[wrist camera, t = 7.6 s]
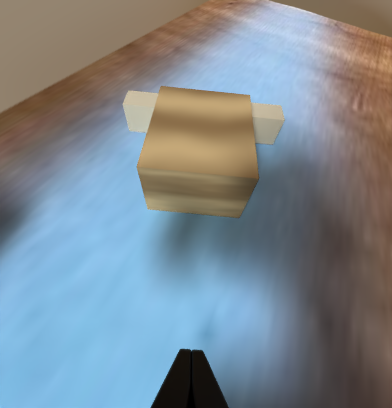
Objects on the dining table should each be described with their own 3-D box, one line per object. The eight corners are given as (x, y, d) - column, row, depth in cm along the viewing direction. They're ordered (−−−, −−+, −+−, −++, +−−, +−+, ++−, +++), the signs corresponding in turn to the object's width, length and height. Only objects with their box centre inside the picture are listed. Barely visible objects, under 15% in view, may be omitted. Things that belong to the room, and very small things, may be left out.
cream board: (272, 145, 29) (285, 118, 26) (129, 131, 29) (122, 102, 25) (270, 130, 31) (282, 103, 27) (134, 117, 31) (128, 88, 27)
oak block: (238, 218, 23) (258, 178, 17) (147, 210, 23) (136, 166, 17) (236, 143, 30) (249, 95, 24) (164, 136, 29) (160, 86, 23)
